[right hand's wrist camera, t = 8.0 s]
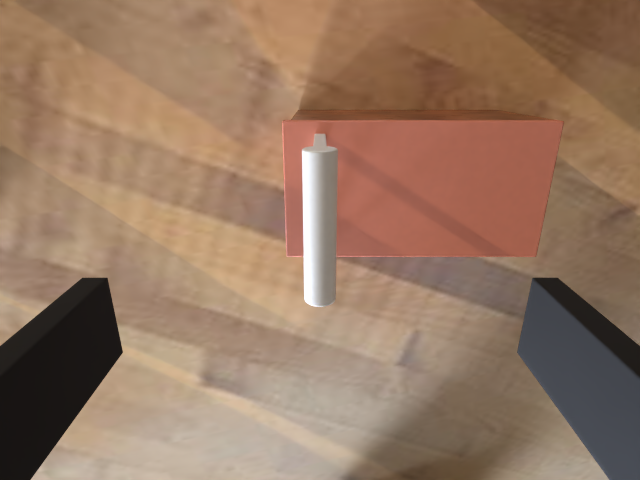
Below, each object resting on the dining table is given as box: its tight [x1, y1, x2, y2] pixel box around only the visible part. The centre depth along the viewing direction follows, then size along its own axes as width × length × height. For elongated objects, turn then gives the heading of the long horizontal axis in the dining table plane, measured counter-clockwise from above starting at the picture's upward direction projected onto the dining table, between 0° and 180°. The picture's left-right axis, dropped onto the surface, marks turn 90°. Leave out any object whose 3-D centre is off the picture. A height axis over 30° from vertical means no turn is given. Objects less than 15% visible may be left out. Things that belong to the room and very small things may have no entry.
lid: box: [282, 120, 564, 307], centre depth 24 cm, size 18×9×9 cm, turn 90°
